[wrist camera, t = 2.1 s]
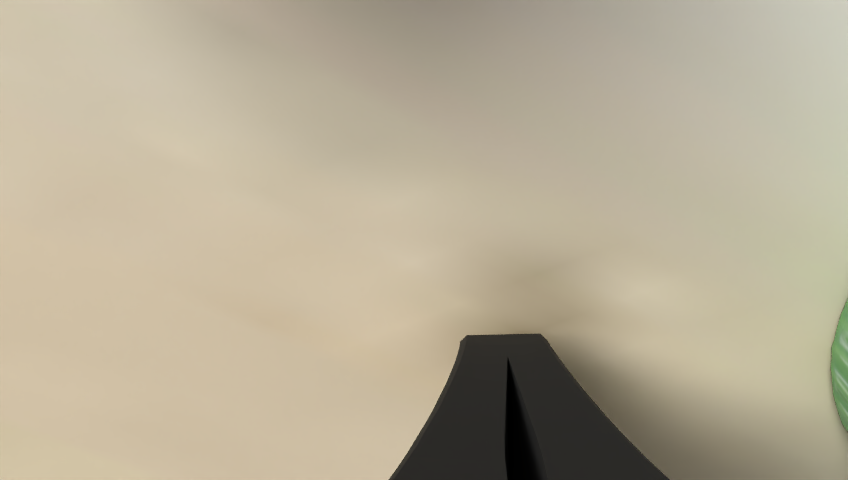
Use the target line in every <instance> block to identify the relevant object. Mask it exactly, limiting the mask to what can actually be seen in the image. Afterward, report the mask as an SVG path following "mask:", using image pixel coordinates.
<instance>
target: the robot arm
mask: <svg viewBox="0 0 848 480" xmlns="http://www.w3.org/2000/svg"><path fill="white" fill-rule="evenodd" d="M389 480H669V479H668V478H667V477H666V476H665V475H664V474H663V473H662V472H661V471H660V470H658V469H657V468H656V467H655V466H654V465H653V464H652V463H651V462H650V461H649V460H648V459H647V458H646V457H645V456H644V455H643V454H642V453H641V452H640V451H639V450H638V449H637V448H636V447H635V446H634V445H633V444H632V443H631V442H630V441H629V440H628V439H627V438H626V437H625V436H624V435H623V434H622V433H621V432H620V431H619V430H618V429H617V428H616V426H615V425H614V424H613V423H612V422H611V421H610V420H609V419H608V418H607V417H606V416H605V414H604V413H603V412H602V411H601V410H600V409H599V407H598V406H597V405H596V404H595V403H594V402H593V400H592V399H591V398H590V397H589V396H588V395H587V393H586V392H585V391H584V390H583V389H582V387H581V386H580V385H579V384H578V382H577V381H576V380H575V379H574V377H573V376H572V375H571V373H570V372H569V371H568V370H567V368H566V367H565V366H564V364H563V363H562V361H561V360H560V359H559V357H558V356H557V355H556V353H555V352H554V350H553V349H552V347H551V346H550V344H549V343H548V341H547V340H546V339H545V338H544V337H543V336H542V335H541V334H505V335H467V336H466V337H465V338H464V339H463V340H461V341H460V347H459V351H458V355H457V358H456V361H455V364H454V366H453V369H452V371H451V373H450V376H449V378H448V381H447V383H446V385H445V387H444V389H443V391H442V393H441V395H440V397H439V399H438V401H437V403H436V405H435V407H434V409H433V411H432V413H431V415H430V416H429V418H428V420H427V422H426V423H425V425H424V427H423V428H422V430H421V431H420V433H419V435H418V436H417V438H416V440H415V441H414V443H413V445H412V446H411V448H410V450H409V451H408V453H407V454H406V456H405V457H404V459H403V460H402V462H401V463H400V465H399V466H398V468H397V469H396V470H395V472H394V473H393V475H392V476H391V477H390V479H389Z"/></svg>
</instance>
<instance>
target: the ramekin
mask: <svg viewBox="0 0 848 480" xmlns="http://www.w3.org/2000/svg"><path fill="white" fill-rule="evenodd" d="M831 375H832V385H833V395H834V399H835V402H836V406H837V409H838V413H839V416H840V418H841V421H842V424H843V426H844V427H845V429H846V430H847V432H848V300H847V302H846V304H845V307H844V309H843V311H842V314H841V316H840V320H839V323H838V327H837V330H836V334H835V339H834V342H833V345H832V360H831Z"/></svg>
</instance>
